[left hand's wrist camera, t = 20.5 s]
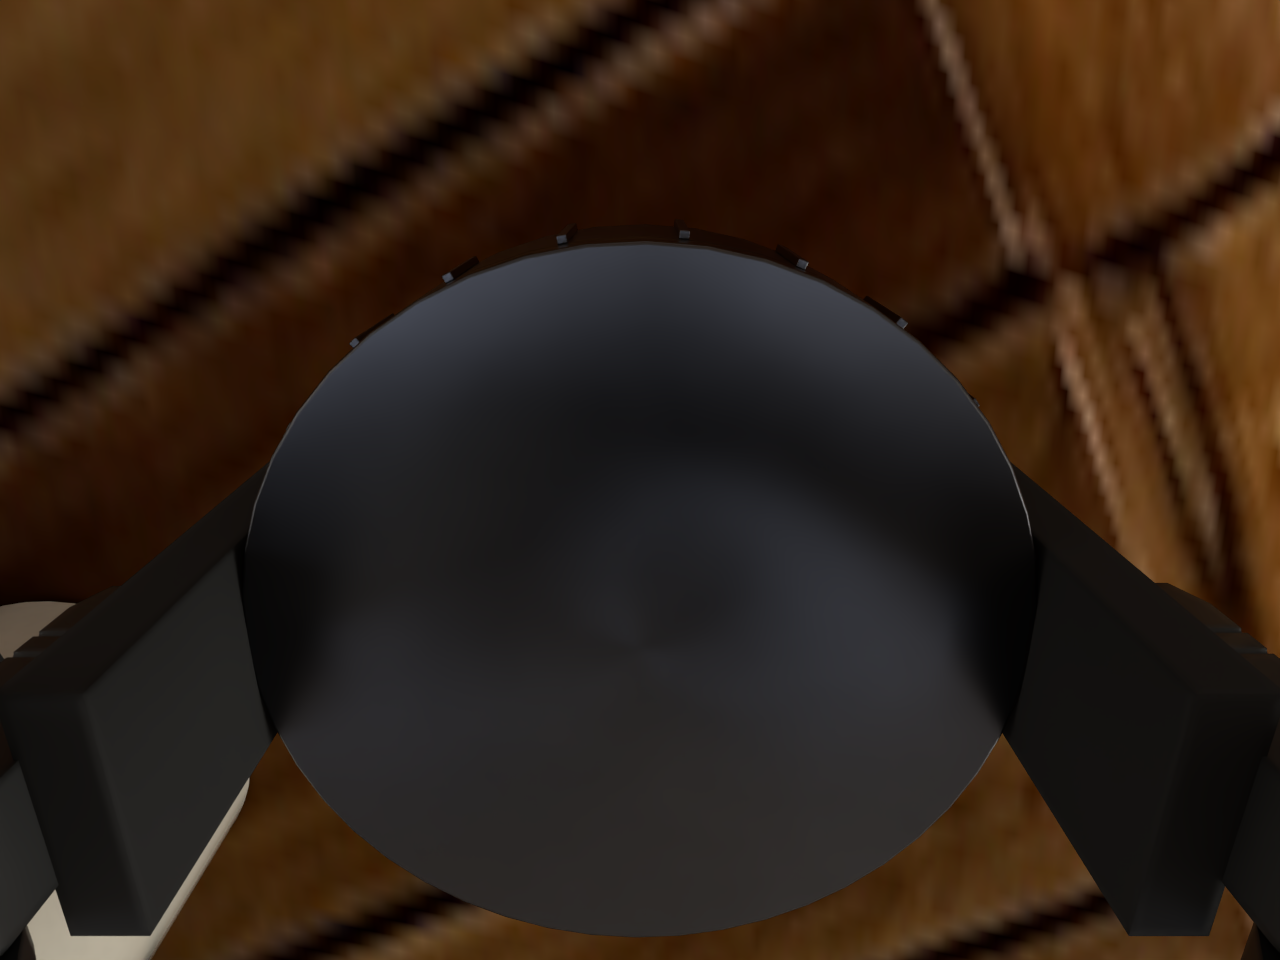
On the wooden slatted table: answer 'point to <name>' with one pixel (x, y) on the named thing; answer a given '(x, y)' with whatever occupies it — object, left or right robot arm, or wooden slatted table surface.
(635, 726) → the lid
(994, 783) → the wooden slatted table surface
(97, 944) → the jar
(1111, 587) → the left robot arm
